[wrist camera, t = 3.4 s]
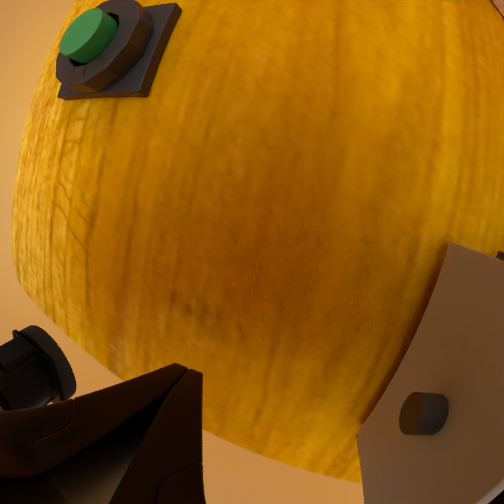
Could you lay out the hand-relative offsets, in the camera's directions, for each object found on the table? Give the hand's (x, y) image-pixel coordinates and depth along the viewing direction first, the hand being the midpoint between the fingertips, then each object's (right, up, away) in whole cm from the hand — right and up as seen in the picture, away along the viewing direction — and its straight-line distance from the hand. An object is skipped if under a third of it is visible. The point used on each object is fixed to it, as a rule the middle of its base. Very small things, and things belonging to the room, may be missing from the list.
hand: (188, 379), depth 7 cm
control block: (-6, +15, +4) cm, 17 cm away
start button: (-6, +15, +2) cm, 16 cm away
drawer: (+13, -2, +3) cm, 14 cm away
